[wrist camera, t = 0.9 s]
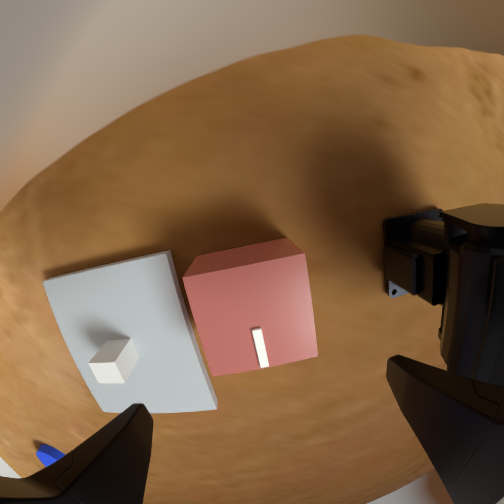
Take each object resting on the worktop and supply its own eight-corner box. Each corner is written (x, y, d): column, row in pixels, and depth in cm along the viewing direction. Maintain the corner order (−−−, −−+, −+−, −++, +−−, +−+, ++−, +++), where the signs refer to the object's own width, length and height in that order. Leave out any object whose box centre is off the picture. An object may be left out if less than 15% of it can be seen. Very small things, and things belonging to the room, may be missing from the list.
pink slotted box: (286, 237, 19) (305, 253, 14) (299, 319, 20) (318, 357, 15) (197, 255, 19) (181, 278, 14) (218, 335, 20) (212, 378, 15)
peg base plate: (170, 250, 19) (150, 266, 14) (217, 400, 22) (214, 438, 17) (50, 277, 19) (17, 294, 14) (107, 404, 21) (91, 434, 17)
